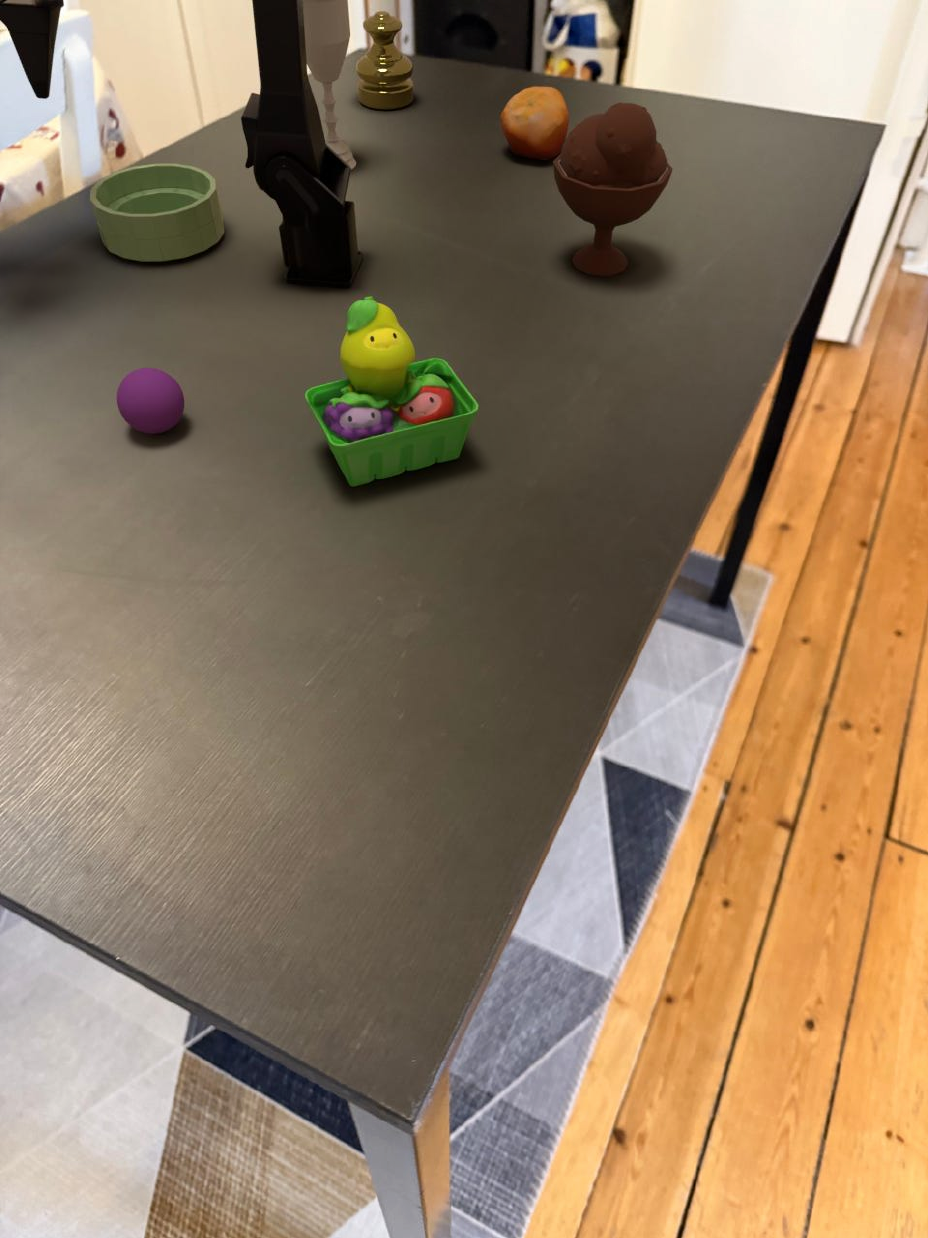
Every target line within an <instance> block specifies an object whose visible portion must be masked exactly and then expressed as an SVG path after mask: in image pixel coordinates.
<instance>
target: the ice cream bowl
mask: <svg viewBox="0 0 928 1238" xmlns="http://www.w3.org/2000/svg"><path fill="white" fill-rule="evenodd" d="M647 109H648V108H646V107H645V106H641V105H639V104H637V103H633V102H617V103H615V104H612V105H611V106H610V107H609V108H608V109H607V110H606V111H605V112H604V113H597V114H593V115H590V116H587V117H585V118H583V119H582V120H580V122H579V123H578V124H577V125H575V126H574V127H573V129H572V130H571V131H570V132H569V133H568V135H567V136H566V139H565V142H564V143H563V147H562V150H561V152H560V153H559V154H558V155H557V157H556V158H555V159H554V160H553V161H552V166H553V177H554V181H555V183H556V187H557V190H558V192H559V194H560V196H561V197H562V198H563V200H564V203H566V205H567V207H568V208H569V209H570V210H571V211H572V213H573V214H574V215H575V216H576V217H578V218H580V219H581V220H582V221H584V222H586V223H589V224H591V225H593V226H594V237H593V241H592V242H593V243H591V244H589V245H586V246H583V247H581V248H580V247H579V249H578V250H577V251H576V253H575V254H574V255H573V258H572V260H571V261H572V263H573V265H574V266H575V268H576V269H577V270H579V271H581V272H583V273H585V274H588V275H590V276H601V277H602V276H604V277H609V276H613V275H616V274H621V273H623V272H624V270H625V269H626V268H627V266H628V259H627V257H626V256H625V254H624V252H623V251H622V250H620V249H619V248H617V247H615V246H613V245H612V241H613V231H614V230H615V228H616V227H619V226H624V225H628V224H630V223H632V222H635V221H637V220H639V219H640V218H641V217H643V216H644V215H646V213H649V211H650V210H651V209H652V208H653V206H654V205H655V204H656V202H657V201H658V199H660V196H661V195H662V193H663V192H664V191H665V189H666V187H667V186H668V183H669V181H670V178H671V176H672V172H673V170H674V168H673V167H672V166H671V165H670V164H669V162H668V157H667V155H666V152H665V149H664V148H663V146H662V144H661V143H660V142H658V139H657V128H656V126H655V123H654V120H653V118H652V115H651V114H650V113H649V112H648V110H647Z"/></svg>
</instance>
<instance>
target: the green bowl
mask: <svg viewBox="0 0 928 1238" xmlns="http://www.w3.org/2000/svg"><path fill="white" fill-rule="evenodd" d="M89 201H90V204H91V208H92V212H93V215H94V218H95V221H96V224H97V228H98V230H99V235H100V238H101V242H102V243H103V245H104V246H105V247H106V249H107V250H108V251H109V253H112V254H114V255H116V256H118V257H120V258H122V259H125V260H126V259H127V260H130V261H131V260H132V261H138V262H168V261H173V260H180V259H185V258H188V257H191V256H195V255H198V254H199V253H202V252H205V251H206V250H208V249H209V248H211V247H212V246H214V245H216V244H217V243H219V241H220V240H221V238H222V237H223V235H224V234H225V222H224V218H223V212H222V207H221V202H220V196H219V191H218V186H217V180H216V178H214V177H213V176H212V175H211V174H210V173H209V172H208V171H207V170H204V169H201V168H199V167H196V166H193V165H187V164H182V163H181V164H180V163H149V164H142V165H135V166H131V167H127V168H124V169H121V170H118V171H114V172H112V173H110V174H108V175H106V176H105V177H103V178H101V179H99V180H98V181H97V182H96V183H95V184H94V185H93V186H92V187H91V188H90V192H89Z"/></svg>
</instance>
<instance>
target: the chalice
mask: <svg viewBox="0 0 928 1238" xmlns="http://www.w3.org/2000/svg"><path fill="white" fill-rule="evenodd" d="M303 13H304V29H305V45H306V61H307V68H308V69H309V72H310V74H311V75H312V77H313V79H314V80H315V81H317V82H318V83H321V84H322V88H323V99H322V101H321V103H322V105H323V106H324V109H325V116H324V117H323V120H322V121H323V122H324V123H325V124H326V128H327V136H326V137H325V143H326V144H327V145H328V146H329V147H330V148H331V149H332V150H333V151H334V152H335V153H336V154H337V155H338V156H339V157H341V158H342V159H343V160H344V161H345V162H346V163H347V164H348V165H349V166H350V168H351V170H353V169H354V168H355V167H356V165H357V161H356V159H355V158H354V156H353V153H352V151H351V149H350V146H349V144H348V143H347V142H346V141H345V140H343V139H340V137H339V136H338V134H337V130H336V128H337V123H338V121H339V118H338V116H336V113H335V111H334V110H335V105H336V104H337V103H336V102H337V100H336V99H335V97H334V94H333V93H334V92H333V83H334V82H336V81H338V80H339V79H340V76H341V73H342V69H343V67H344V63H345V60H346V58H347V55H348V49H349V44H350V38H351V28H350V27H351V25H350V12H349V0H303Z"/></svg>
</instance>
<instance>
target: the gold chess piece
mask: <svg viewBox="0 0 928 1238" xmlns="http://www.w3.org/2000/svg"><path fill="white" fill-rule="evenodd" d="M362 28H363V30H364V31H365V32H366V33H367V34H369V35H370V38H371V39H372V44H371V46H370V47H369V49H368V50H367V51H366V52H365V55H363V56H362V57H360V58H359V59H358V60H357V62H356V64H355V65H356V66H355V68H356V70H355V71H356V74H357V76H358V78H359V80H358V81H357V90H358V91H357V92H358V101H359V102H360V103H361V104H362V105H363V106H365V107H367V108H370V109H374V110H380V111H381V110H383V111H392V110H399V109H402V108H406V107H407V106H409V105H410V104H412V102H413V101H414V81H413V80H412V79H411V77H412V75H413V72H414V71H413V70H414V64H413V62H412V61H411V60H410V58H409V57H407V55H404V54H403V52H402V50H400V49H399V47H397V45H396V43H395V37H396V36H397V34H398V33H399V32H400V31H401V30H402V28H403V21H402V20H401V19H399V18H398V17H396V16H394V15H392V14H390V13H389V12H388V11H384V10H379V11H376V12H375V13H374V14H373V15H370V16H368V18H366V19H365V20H363V22H362Z"/></svg>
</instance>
